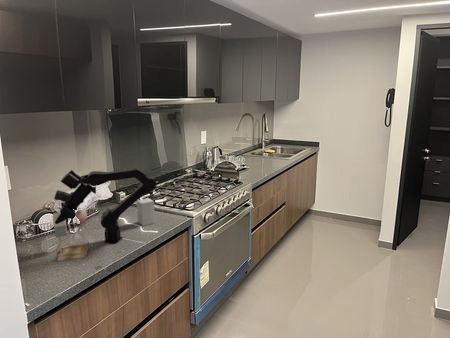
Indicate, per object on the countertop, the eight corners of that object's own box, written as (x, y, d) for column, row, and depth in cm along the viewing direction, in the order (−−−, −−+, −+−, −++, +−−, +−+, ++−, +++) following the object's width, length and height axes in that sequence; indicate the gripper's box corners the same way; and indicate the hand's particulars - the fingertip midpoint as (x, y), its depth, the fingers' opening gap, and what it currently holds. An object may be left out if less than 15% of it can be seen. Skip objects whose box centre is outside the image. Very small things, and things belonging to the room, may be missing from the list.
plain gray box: (67, 232, 157) (64, 211, 155) (66, 235, 153) (63, 214, 151) (56, 233, 156) (53, 213, 154) (55, 237, 152) (52, 216, 149)
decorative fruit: (91, 223, 186) (89, 206, 184) (77, 228, 179) (75, 210, 177) (81, 220, 191) (79, 203, 189) (67, 225, 184) (65, 207, 182)
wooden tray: (88, 246, 158) (87, 242, 157) (85, 257, 147) (85, 252, 147) (62, 249, 155) (61, 245, 154) (57, 260, 144) (57, 256, 144)
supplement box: (155, 223, 185) (154, 201, 183) (142, 226, 181) (140, 203, 179) (150, 219, 191) (148, 197, 189) (137, 222, 187) (136, 200, 185)
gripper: (65, 179, 159) (42, 205, 158) (63, 189, 142) (37, 218, 141) (85, 193, 164) (63, 218, 162) (85, 204, 147) (60, 232, 145)
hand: (56, 221), depth 153 cm, fingers closed on plain gray box, 4 cm apart
